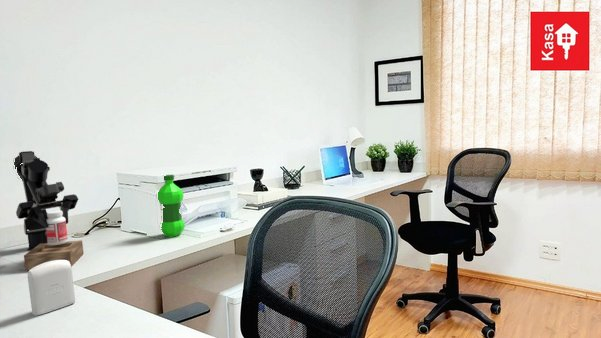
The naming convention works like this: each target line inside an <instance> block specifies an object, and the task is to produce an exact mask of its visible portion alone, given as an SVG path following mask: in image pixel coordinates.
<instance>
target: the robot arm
mask: <svg viewBox="0 0 601 338" xmlns="http://www.w3.org/2000/svg"><path fill="white" fill-rule="evenodd" d="M14 159H15V162H14V161H13V162H14V165H15V169H16V167H17V173H18V175H19V176H20V178H21V179H22V181H21V182H22V185H23V190H24V193H25V199H26V201H24V202H19V204H18V205H17V208H16V211H15V213H16V216H17V217H16V218H18V219H19V220H22V219H23V231H24V234H25V236H27V242H28V248H27V249H26V250H27V251H31V250H32V249H34V248H35V247H36V246H38V245H39V244H43V243H48V242H47V233H46V228H48V224H47V221H46V220H47V219H48V217H47V210H48V209H52V208H53V209H54V208H59V210H61V211H62V212H63V215H62V217H64V218H65V219H66V225H67V224H69V211H70V210H74V209H75V208H76V206H77V203H78V201H79V197H78V196H77V194H74V193H73V194H67V195H63V198H62V199H61V200H57V199H58V198H59V196H58V194H60V193H61V192H63V191H64V190H65V186H64V184H63V182H62V181H57V182H55V183H53V184H52V183H50V184H48V182H47V179H48V173H49V171H50V168H51V167H50V166H49V164H48V163H47V162H45V161H44V160H41V158H40V157H37V155H35V151H33V150H28V151H27V150H26V151H24V150H23V151H20V152H18V155H17V156H16V157H14ZM21 163H23V164H21ZM20 164H21V165H20Z"/></svg>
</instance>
